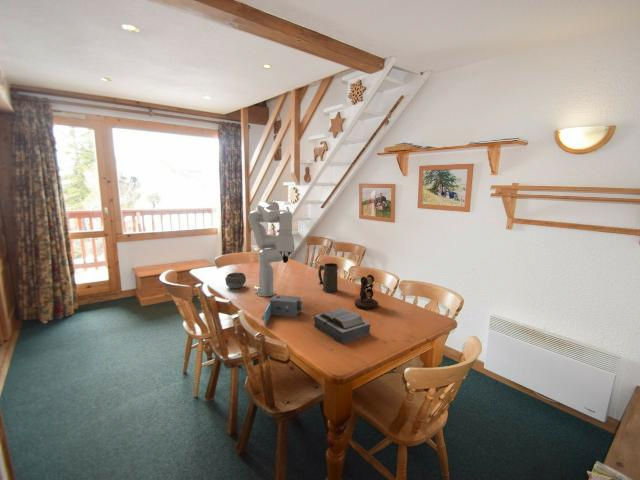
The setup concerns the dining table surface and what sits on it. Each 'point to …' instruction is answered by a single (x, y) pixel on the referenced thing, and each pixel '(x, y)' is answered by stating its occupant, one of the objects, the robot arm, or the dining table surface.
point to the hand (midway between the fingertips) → (285, 262)
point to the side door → (267, 313)
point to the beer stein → (329, 277)
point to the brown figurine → (366, 293)
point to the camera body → (285, 305)
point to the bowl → (235, 280)
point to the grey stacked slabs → (342, 325)
